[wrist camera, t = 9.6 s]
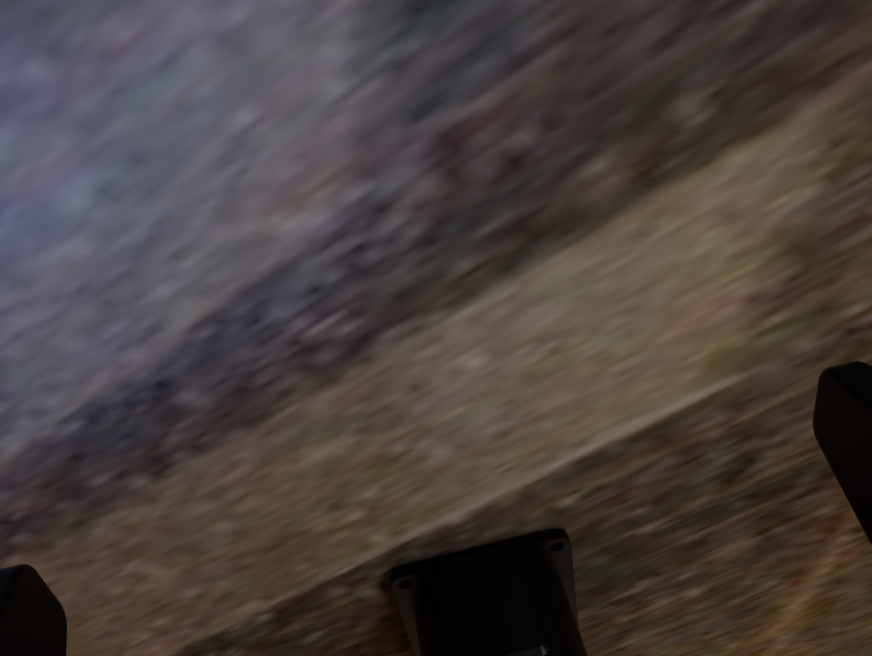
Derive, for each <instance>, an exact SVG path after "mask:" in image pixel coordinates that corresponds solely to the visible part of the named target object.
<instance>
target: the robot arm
mask: <svg viewBox="0 0 872 656" xmlns="http://www.w3.org/2000/svg"><path fill="white" fill-rule="evenodd" d="M813 429H814V434H815V437H816V439H817V441H818V444H819V445H820V447H821V449H822V451H823V453H824V455H825V457H826V459H827V461H828V463H829V465H830V466H831V468H832V470H833V472H834V474H835V476H836V478H837V480H838V482H839V484H840V486H841V488H842V489H843V491H844V493H845V495H846V497H847V499H848V501H849V503H850V505H851V507H852V509H853V511H854V512H855V514H856V516H857V518H858V520H859V522H860V524H861V526H862V528H863V530H864V532H865V534H866V535H867V537H868V539H869V541H870V543H871V544H872V366H871V365H869V364H866V363H863V362H859V361H853V362H849V363H845V364H841V365H837V366H832V367H828V368H826V369H824V370H823V371H822V373H821V374H820V376H819V380H818V387H817V394H816V400H815V407H814V413H813ZM390 580H391V586H392V590H393V593H394V596H395V599H396V602H397V605H398V608H399V611H400V614H401V617H402V620H403V623H404V626H405V629H406V632H407V635H408V638H409V641H410V644H411V647H412V650H413V653H414V656H587V653H586V650H585V647H584V644H583V641H582V638H581V635H580V632H579V629H578V618H577V607H576V596H575V585H574V573H573V562H572V551H571V543H570V540H569V537H568V535H567V532H566V531H564V530H563V529H553V530H549V531H545V532H541V533H536V534H532V535H528V536H524V537H520V538H516V539H512V540H508V541H504V542H500V543H496V544H492V545H488V546H484V547H480V548H475V549H471V550H467V551H463V552H459V553H455V554H451V555H447V556H443V557H439V558H435V559H431V560H427V561H423V562H419V563H414V564H410V565H406V566H402V567H399V568H397V569H395V570H394V571H392V573H391V575H390ZM66 640H67V622H66V616H65V612H64V609H63V607H62V605H61V603H60V602H59V601H58V599H57V598H56V597H55V595H54V594H53V593H52V591H51V590H50V589H49V587H48V586H47V585H46V583H45V582H44V581H43V579H42V578H41V577H40V575H39V574H38V573H37V571H36V570H35V569H34V568H33V567H32V566H30V565H27V564H20V565H16V566H11V567H7V568H3V569H0V656H66Z"/></svg>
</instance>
